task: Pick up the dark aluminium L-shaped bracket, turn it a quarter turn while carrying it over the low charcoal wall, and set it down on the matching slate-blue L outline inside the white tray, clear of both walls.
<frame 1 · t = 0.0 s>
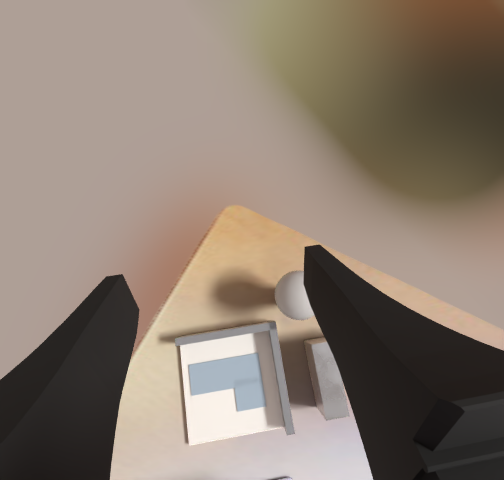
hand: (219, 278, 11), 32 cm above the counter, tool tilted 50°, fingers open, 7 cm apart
bracket: (319, 370, 41), on the counter
white tray: (233, 378, 40), on the counter
lightbulb: (288, 297, 43), on the counter
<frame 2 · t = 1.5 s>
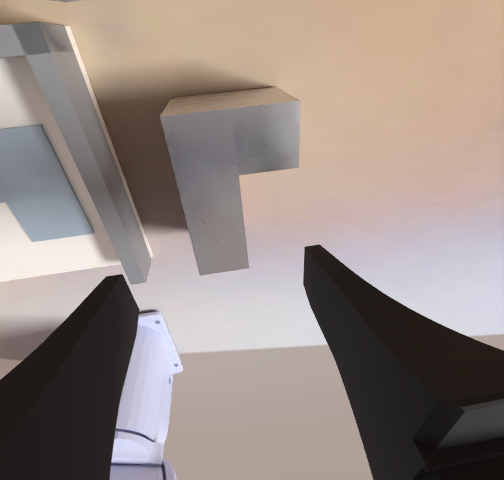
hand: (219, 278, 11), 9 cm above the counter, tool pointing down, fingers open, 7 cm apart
bracket: (211, 170, 18), on the counter
white tray: (3, 181, 17), on the counter
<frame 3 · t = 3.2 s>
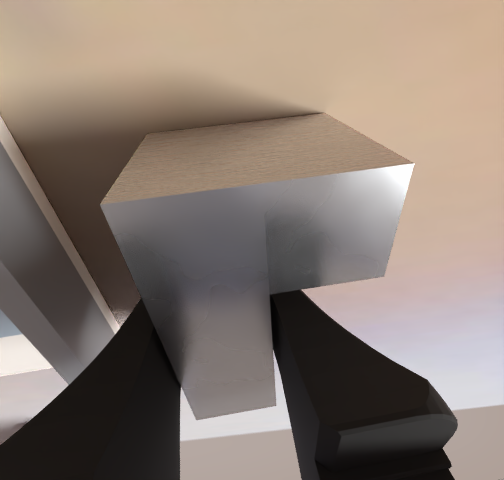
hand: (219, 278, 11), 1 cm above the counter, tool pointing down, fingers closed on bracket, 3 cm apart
bracket: (214, 238, 12), on the counter, touching gripper
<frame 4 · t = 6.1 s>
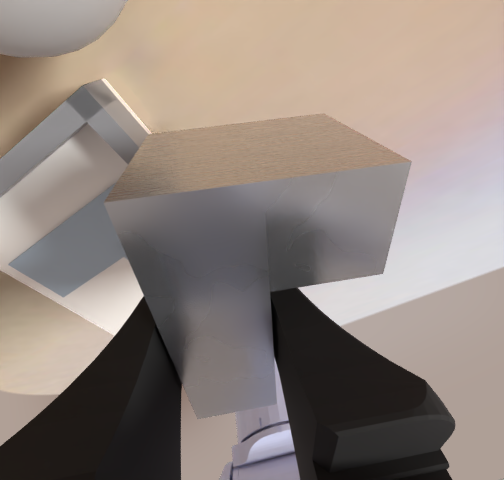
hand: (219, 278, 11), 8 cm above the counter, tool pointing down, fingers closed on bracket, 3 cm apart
bracket: (214, 238, 12), point 7 cm above the counter, touching gripper
white tray: (115, 240, 19), on the counter
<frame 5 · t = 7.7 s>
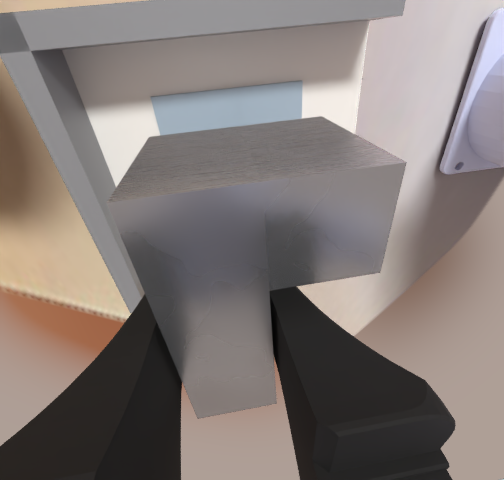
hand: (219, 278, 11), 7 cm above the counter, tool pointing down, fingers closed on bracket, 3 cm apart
bracket: (214, 239, 12), point 5 cm above the counter, touching gripper
white tray: (227, 167, 16), on the counter
when the fingers open (4 cm above the counter, at t = 9.0 s): bracket drops 1 cm, resting on white tray.
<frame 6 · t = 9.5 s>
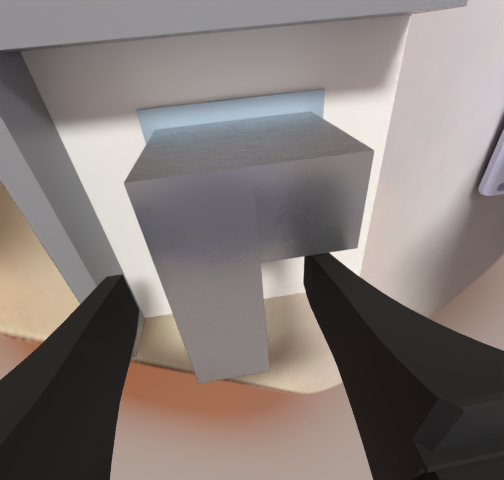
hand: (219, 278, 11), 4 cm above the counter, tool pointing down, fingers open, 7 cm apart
bracket: (214, 224, 13), point 1 cm above the counter, touching white tray
white tray: (230, 191, 13), on the counter
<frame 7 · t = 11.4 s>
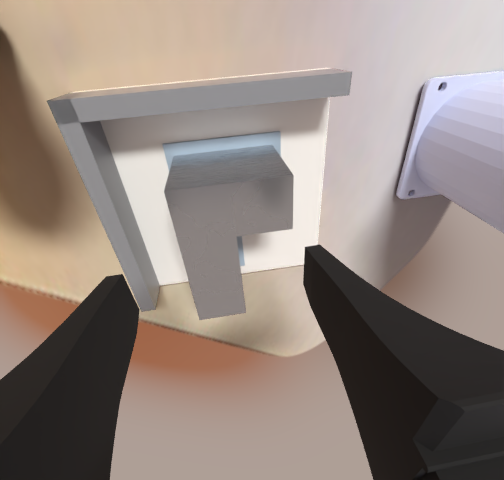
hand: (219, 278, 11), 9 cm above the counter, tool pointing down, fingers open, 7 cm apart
bracket: (210, 217, 19), point 1 cm above the counter, touching white tray
white tray: (222, 194, 19), on the counter
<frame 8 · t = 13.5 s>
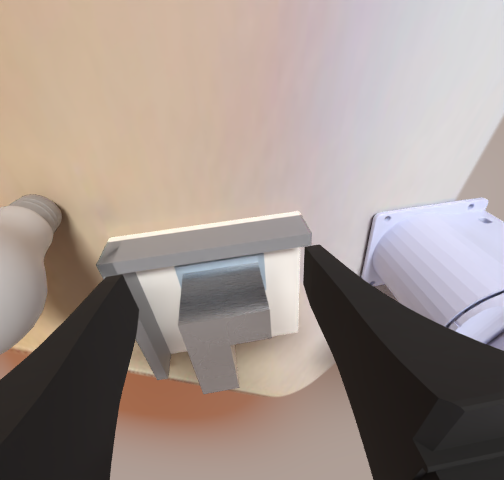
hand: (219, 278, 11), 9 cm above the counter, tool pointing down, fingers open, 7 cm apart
bracket: (211, 308, 25), point 1 cm above the counter, touching white tray
white tray: (220, 290, 25), on the counter
lightbulb: (46, 205, 18), on the counter
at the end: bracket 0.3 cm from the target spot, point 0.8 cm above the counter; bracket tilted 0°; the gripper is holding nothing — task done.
